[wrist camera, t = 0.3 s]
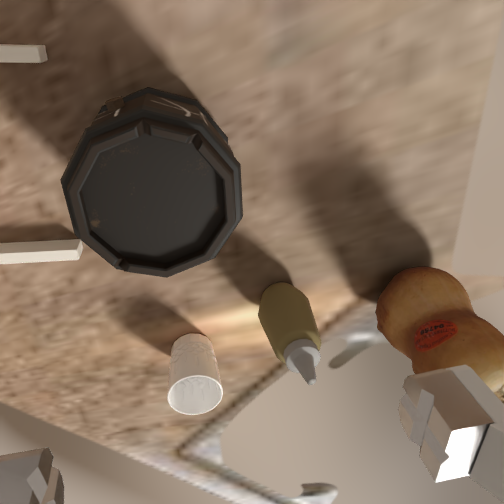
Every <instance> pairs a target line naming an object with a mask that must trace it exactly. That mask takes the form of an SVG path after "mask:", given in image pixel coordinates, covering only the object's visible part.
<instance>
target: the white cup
mask: <svg viewBox="0 0 504 504" xmlns="http://www.w3.org/2000/svg"><path fill="white" fill-rule="evenodd" d="M222 395H223V390H222V385H221V380H220V375H219V370H218V365H217V361H216V357H215V355H214V350H213V345H212V342H211V341H210V340H209V339H208V338H207V337H206V336H204V335H201V334H196V333H189V334H186V335H183V336H181V337H180V338H178V339H177V340H176V341H175V342H174V344H173V346H172V349H171V359H170V368H169V380H168V395H167V399H168V403H169V405H170V406H171V407H172V408H173V409H174V410H176V411H177V412H179V413H182V414H187V415H197V414H202V413H205V412H208V411H210V410H211V409H213V408H214V407H216V406H217V405H218V404H219V402H220V401H221V399H222Z"/></svg>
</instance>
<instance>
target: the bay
mask: <svg viewBox="0 0 504 504" xmlns="http://www.w3.org/2000/svg"><path fill="white" fill-rule="evenodd" d="M47 60H48V59H47V53H46V48H45V45H14V44H0V62H8V63H42V62H45V61H47ZM82 250H83V246H82V241H81V239H72V240H52V241H32V242H12V243H0V264H13V263H31V262H48V261H66V260H79V258H80V255H81V253H82Z"/></svg>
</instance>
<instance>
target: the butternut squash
mask: <svg viewBox="0 0 504 504" xmlns="http://www.w3.org/2000/svg"><path fill="white" fill-rule="evenodd" d="M375 313H376V315H377V321H378V324H377V328H378V330H379V331H380V332H381V333H383V335H384V336H385V337H386V339H387V340H388V341H389V342H390V344H391V345H392V346H393V347H395V348H396V349H397V350H399V351H400V352H402V353H403V354H405V355H406V356H407V357H408V358H410V359H411V360H412V368H413V371H414V373H415V374H419V373H424V372H429V371H433V370H438V369H446V368H450V367H455V366H460V365H467V366H469V367H471V368H472V369H473V370H474V372H475V373H476V374H477V375H478V376H479V377H480V378H481V379H482V380H483V382H484V383H485V384H486V385H487V386H488V387H489V388H490V389H491V390H492V392H493V393H494V394H495V395H496V396H497V397H498V398H499V399H500V400H501V402H502V403H503V404H504V336H503V334H502V333H501V332H499V331H498V330H497V329H496V328H495V327H494V326H492V325H491V324H490V323H488V322H487V321H486V320H484V319H482V318H480V317H478V316H477V315H476V314H475V313H474V311H473V308H472V306H471V302H470V299H469V296H468V294H467V292H466V290H465V289H464V287H463V286H462V285H461V283H460V282H459V281H458V280H457V279H456V278H454V277H453V276H452V275H450V274H449V273H447V272H445V271H443V270H440V269H437V268H431V267H414V268H408V269H405V270H403V271H401V272H400V273H398V274H397V275H395V276H394V277H393V279H392V280H391V281H390V283H389V284H388V285H387V287H386V288H385V289H384V291H383V292H382V293H381V295H380V297H379V298H378V302H377V307H376V312H375Z"/></svg>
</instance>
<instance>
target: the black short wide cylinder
mask: <svg viewBox="0 0 504 504" xmlns="http://www.w3.org/2000/svg"><path fill="white" fill-rule="evenodd" d="M105 104H106V105H104V106H102V108H101V110H100V112H99V114H98V115H97V117H96V118H95V120H94V121H93V123H92V125H91V127H88V128H86V129H85V131H84V133H83V135H82V137H81V139H80V141H79V143H78V145H77V147H76V149H75V151H74V153H73V155H72V157H71V159H70V161H69V163H68V165H67V167H66V169H65V172H64V174H63V176H62V178H61V184H62V188H63V192H64V195H65V199H66V203H67V207H68V210H69V214H70V218H71V222H72V225H73V229H74V233H75V235H76V236H77V237H78V238H79V239H81V240H82V241H83V242H84V243H85V244H87V245H88V246H89V247H90V248H92V249H93V250H94V251H95V252H96V253H98V254H99V255H100V256H101V257H102V258H104V259H105V260H106V261H107V262H109V263H110V264H111V265H112V266H113V267H115V268H116V269H120V270H124V271H126V272H133V273H139V274H146V275H153V276H160V277H169V276H172V275H174V274H177V273H179V272H182V271H184V270H187V269H189V268H192V267H194V266H197V265H199V264H201V263H204V262H206V261H209V260H211V259H213V258H215V257H216V255H217V254H218V252H219V251H220V249H221V248H222V246H223V245H224V244H225V242H226V241H227V239H228V238H229V236H230V235H231V233H232V232H233V230H234V229H235V227H236V226H237V225H238V223H239V222H240V220H241V219H242V216H243V208H242V187H241V167H240V163H239V162H238V161H237V160H236V158H235V157H234V154H233V152H232V150H231V148H230V146H229V145H228V137H227V136H226V135H225V134H224V132H223V131H222V130H221V129H220V128H219V126H218V125H217V124H216V123H215V122H214V120H213V119H212V118H211V117H210V116H209V114H208V113H207V112H206V111H205V109H204V108H203V107H202V106H201V105H200V103H199V102H198V101H197V100H194V99H190V98H186V97H183V96H179V95H175V94H171V93H168V92H164V91H160V90H156V89H152V88H149V87H147V88H145V89H143V90H140V91H138V92H135V93H133V94H131V95H128V96H126V97H123V98H122V97H117V98H113V99H111V100H108V101H106V102H105Z"/></svg>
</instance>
